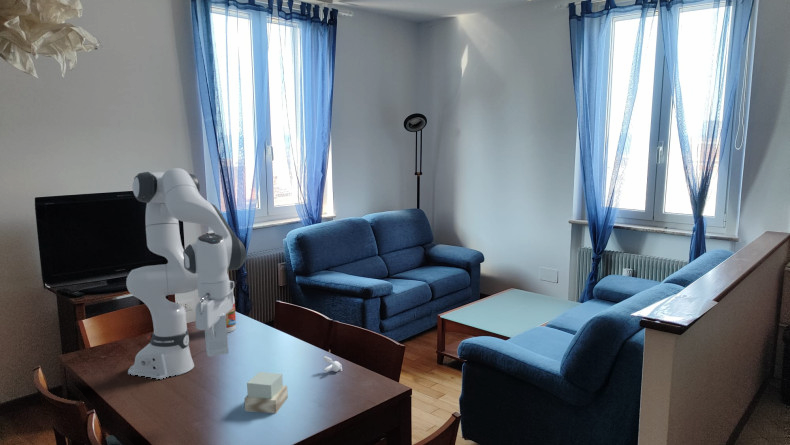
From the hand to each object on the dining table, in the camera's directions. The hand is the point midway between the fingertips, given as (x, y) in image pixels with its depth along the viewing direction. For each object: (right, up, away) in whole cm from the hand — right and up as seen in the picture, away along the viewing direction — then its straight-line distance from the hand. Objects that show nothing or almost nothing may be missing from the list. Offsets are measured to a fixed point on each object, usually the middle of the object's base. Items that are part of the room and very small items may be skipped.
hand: (216, 333), depth 162 cm
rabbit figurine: (+31, -20, +31) cm, 48 cm away
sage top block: (+13, -20, +7) cm, 25 cm away
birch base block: (+13, -24, +8) cm, 29 cm away
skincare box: (0, -6, 0) cm, 6 cm away
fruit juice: (-21, -14, +75) cm, 79 cm away
